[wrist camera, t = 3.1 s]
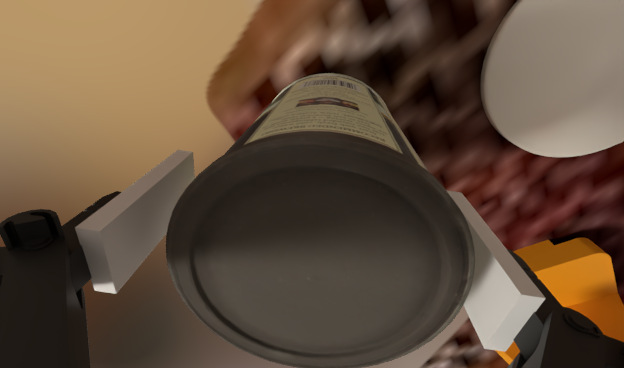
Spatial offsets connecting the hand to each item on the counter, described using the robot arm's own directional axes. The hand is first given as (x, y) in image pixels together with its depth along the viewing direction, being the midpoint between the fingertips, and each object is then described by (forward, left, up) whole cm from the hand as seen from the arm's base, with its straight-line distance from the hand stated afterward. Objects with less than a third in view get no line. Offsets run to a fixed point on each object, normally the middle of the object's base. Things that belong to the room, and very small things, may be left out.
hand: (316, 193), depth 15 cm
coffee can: (0, 0, -8) cm, 8 cm away
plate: (-15, -8, -8) cm, 19 cm away
